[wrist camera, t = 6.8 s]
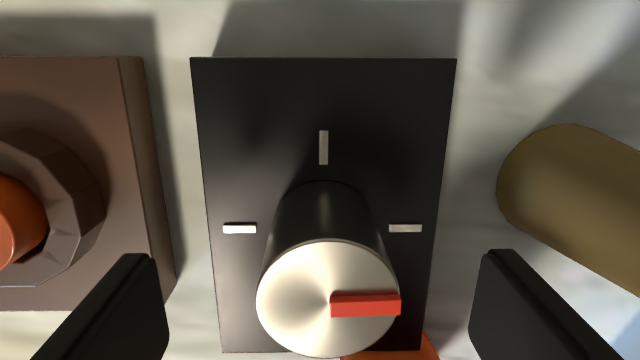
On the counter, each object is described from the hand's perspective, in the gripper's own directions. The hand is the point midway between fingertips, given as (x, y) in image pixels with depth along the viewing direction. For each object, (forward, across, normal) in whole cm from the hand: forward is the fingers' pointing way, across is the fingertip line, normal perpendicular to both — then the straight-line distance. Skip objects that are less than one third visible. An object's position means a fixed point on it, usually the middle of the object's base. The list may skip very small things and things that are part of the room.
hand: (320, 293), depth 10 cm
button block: (+8, +13, 0) cm, 15 cm away
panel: (+8, 0, +1) cm, 8 cm away
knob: (+5, 0, +1) cm, 5 cm away
